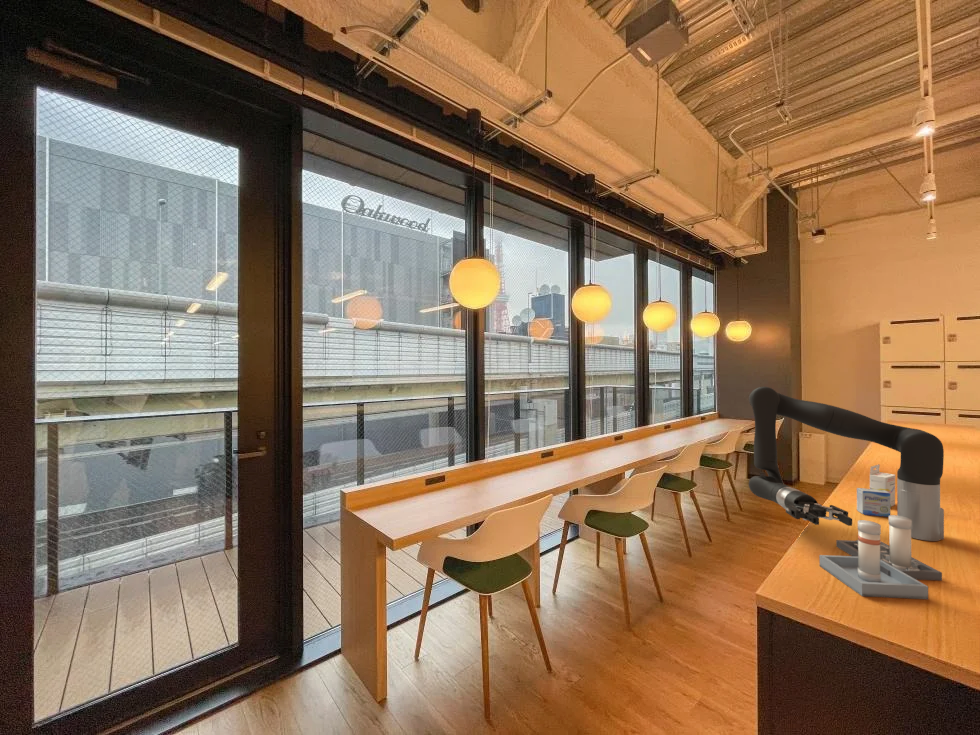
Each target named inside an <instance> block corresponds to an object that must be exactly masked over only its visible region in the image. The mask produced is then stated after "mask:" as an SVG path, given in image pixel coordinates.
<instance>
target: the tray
mask: <svg viewBox="0 0 980 735" xmlns="http://www.w3.org/2000/svg"><path fill="white" fill-rule="evenodd" d="M880 565H881V566H883V567H885V568H886V569H888V570H890V576H888V575H886V574H885V573H883V572H881V571H880V573H881V583H878V582H867V581H864V580H862V579H860V578H859V577H858V556H851V555H834V554H833V555H827V554H819V567H820V568H822V569H823V570H825V571H826V572H828V573H829V574H830V575H832V576H833V577H834V578H836V579H837V580H839V581H840V582H842V583H843V584H844V585H845V586H847V587H848V588H850V589H851V590H853V591H854V592H855V593H857V594H859V596H861V597H870V598H871V597H872V598H875V597H876V598H892V599H912V600H913V599H915V600H929V586H928V585H926V584H924V583H923V582H921V581H920V580H918V579H914V578H912V577H910V576H909V575H907V574H905V573H903V572H902V571H900V570H898V569H896V568H895V567H893V566H891V565H889V564H888V563H886V562H884V561H882V560H880Z"/></svg>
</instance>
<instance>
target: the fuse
mask: <svg viewBox="0 0 980 735" xmlns="http://www.w3.org/2000/svg"><path fill="white" fill-rule="evenodd" d="M911 529H912V520H911V519H909V518H906V517H903V516H897V514H896V515H894V514H890V515H889V517H888V530H889V531H888V532H889V533H888V535H889V536H888V537H889V540H888V541H889V544H888V545H889V548H890V560H889V562H890V563H892V566H893V567H895V568H896V569H906V567H910V568H912V564H911V557H912V537H911Z"/></svg>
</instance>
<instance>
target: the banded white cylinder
mask: <svg viewBox="0 0 980 735" xmlns="http://www.w3.org/2000/svg"><path fill="white" fill-rule="evenodd" d="M881 527H882V525H881V524H880V523H878V522H875V521H871V520H864V519H863V520H862V519H861V520H860V519H859V520H857V532H858V533H857V540H858V577H859V578H860V579H862V580H864V581H867V582H878V583H881V573H880V541H881V534H882V532H881V530H882V528H881Z"/></svg>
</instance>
